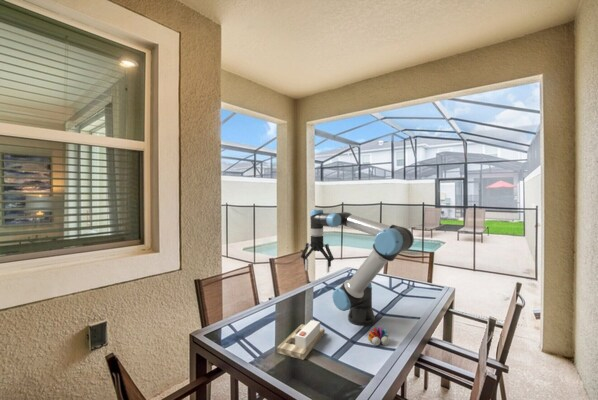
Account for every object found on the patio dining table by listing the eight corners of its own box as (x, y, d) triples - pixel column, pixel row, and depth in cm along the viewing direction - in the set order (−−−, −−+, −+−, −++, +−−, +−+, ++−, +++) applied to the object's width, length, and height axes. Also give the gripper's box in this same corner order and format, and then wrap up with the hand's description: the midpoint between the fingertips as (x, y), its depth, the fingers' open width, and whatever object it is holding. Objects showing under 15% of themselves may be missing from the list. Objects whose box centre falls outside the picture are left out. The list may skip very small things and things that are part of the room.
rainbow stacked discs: (365, 338, 139) (365, 323, 139) (384, 337, 139) (384, 323, 139) (371, 347, 130) (371, 331, 130) (391, 346, 131) (391, 330, 131)
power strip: (320, 335, 140) (319, 320, 140) (305, 353, 124) (305, 336, 124) (310, 333, 143) (310, 319, 143) (295, 351, 126) (295, 334, 126)
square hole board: (324, 333, 144) (324, 328, 144) (303, 359, 120) (303, 353, 120) (301, 328, 149) (301, 324, 149) (277, 352, 126) (277, 347, 126)
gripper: (339, 235, 164) (339, 271, 164) (300, 233, 175) (301, 267, 175) (334, 237, 157) (335, 274, 157) (295, 235, 168) (295, 270, 168)
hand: (317, 271), depth 166 cm, fingers open, 13 cm apart
